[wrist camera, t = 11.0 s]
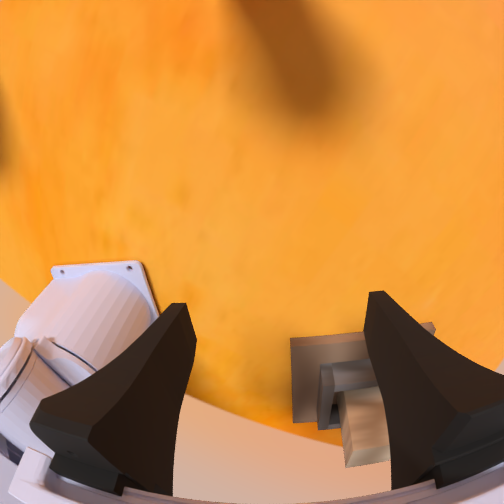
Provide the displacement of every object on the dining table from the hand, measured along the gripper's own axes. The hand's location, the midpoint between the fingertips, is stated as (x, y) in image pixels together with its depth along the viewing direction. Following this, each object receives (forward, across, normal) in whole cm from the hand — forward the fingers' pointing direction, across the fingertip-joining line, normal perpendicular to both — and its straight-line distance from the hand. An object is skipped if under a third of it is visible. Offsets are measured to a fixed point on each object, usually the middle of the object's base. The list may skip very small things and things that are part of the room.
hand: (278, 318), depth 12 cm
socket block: (+9, -7, +17) cm, 21 cm away
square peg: (+8, -7, +17) cm, 20 cm away
